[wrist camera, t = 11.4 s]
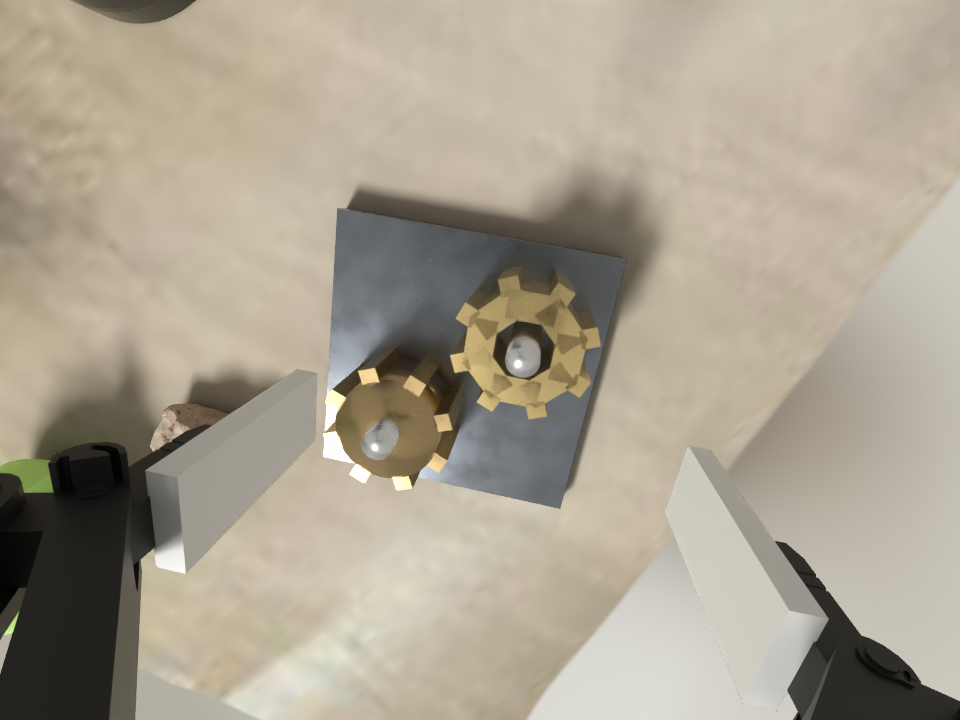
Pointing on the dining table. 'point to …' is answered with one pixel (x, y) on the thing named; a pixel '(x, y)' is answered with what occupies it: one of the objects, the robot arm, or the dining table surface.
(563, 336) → the planet gear
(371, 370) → the plate
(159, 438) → the stone
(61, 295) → the dining table surface
